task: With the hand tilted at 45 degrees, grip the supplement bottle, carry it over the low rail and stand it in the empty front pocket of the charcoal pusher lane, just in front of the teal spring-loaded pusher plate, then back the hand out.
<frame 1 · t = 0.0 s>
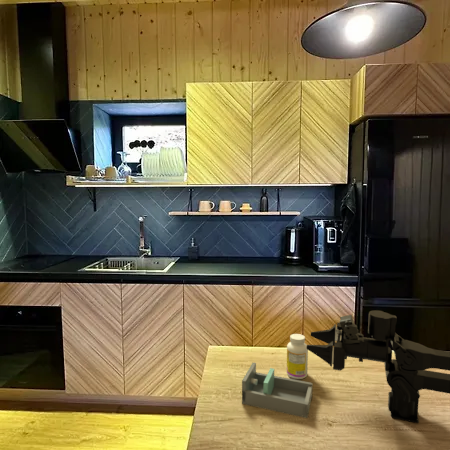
hand: (308, 340, 102), 17 cm above the table, tool horizontal, fingers open, 9 cm apart
pusher lane: (288, 401, 100), on the table
pusher plate: (269, 384, 101), point 4 cm above the table, slide at 0.0 cm
supplement bottle: (296, 375, 114), on the table
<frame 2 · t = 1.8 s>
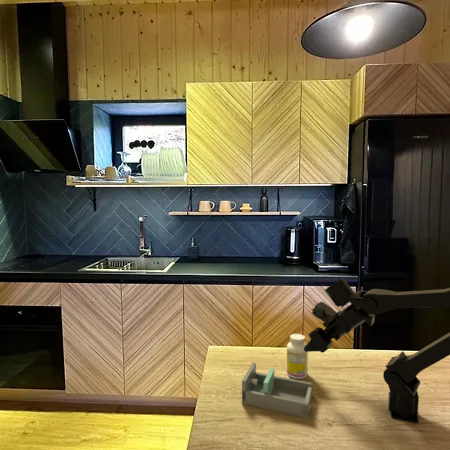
hand: (311, 344, 110), 11 cm above the table, tool tilted 45°, fingers open, 9 cm apart
nothing on the table moved.
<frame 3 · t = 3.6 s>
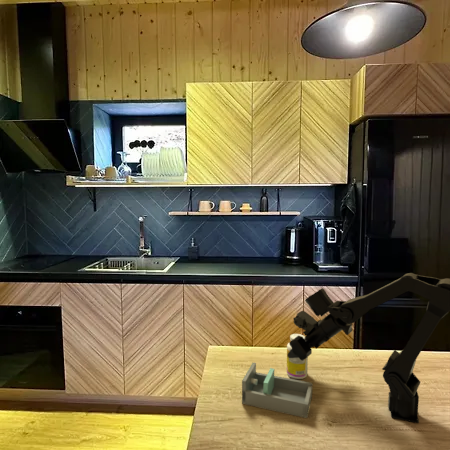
hand: (293, 352, 114), 7 cm above the table, tool tilted 45°, fingers closed on supplement bottle, 7 cm apart
supplement bottle: (296, 375, 114), on the table, touching gripper
everything else where it was.
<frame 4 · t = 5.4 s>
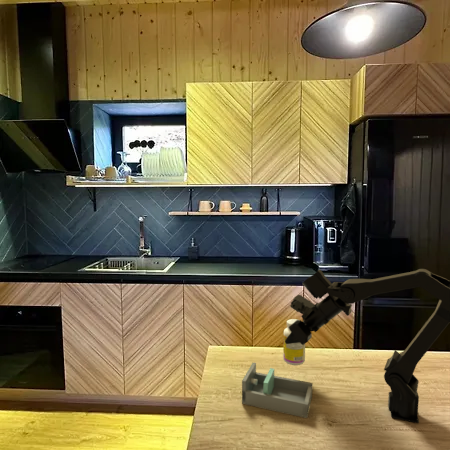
hand: (290, 338, 111), 13 cm above the table, tool tilted 45°, fingers closed on supplement bottle, 7 cm apart
supplement bottle: (294, 361, 111), point 6 cm above the table, touching gripper
everything else where it was.
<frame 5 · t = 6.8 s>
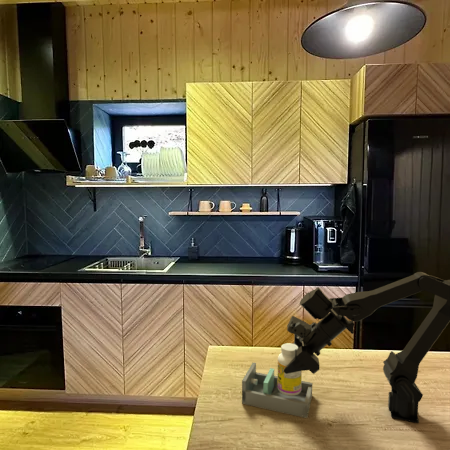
hand: (284, 365, 99), 11 cm above the table, tool tilted 45°, fingers closed on supplement bottle, 7 cm apart
supplement bottle: (289, 390, 100), point 3 cm above the table, touching gripper
everything else where it was.
when the fingers open (9 cm above the table, at t = 7.6 s): supplement bottle stays where it is, resting on pusher lane.
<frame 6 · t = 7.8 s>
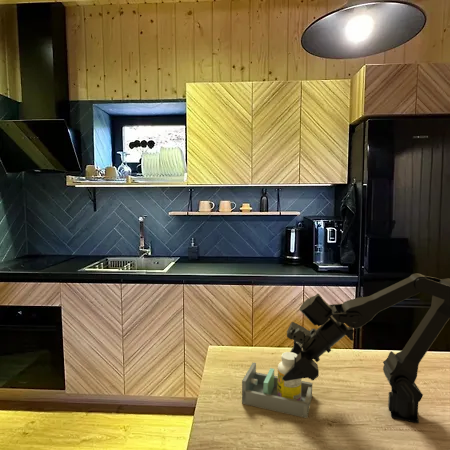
hand: (283, 371, 99), 9 cm above the table, tool tilted 45°, fingers open, 8 cm apart
supplement bottle: (288, 399, 100), point 1 cm above the table, touching pusher lane
everything else where it was.
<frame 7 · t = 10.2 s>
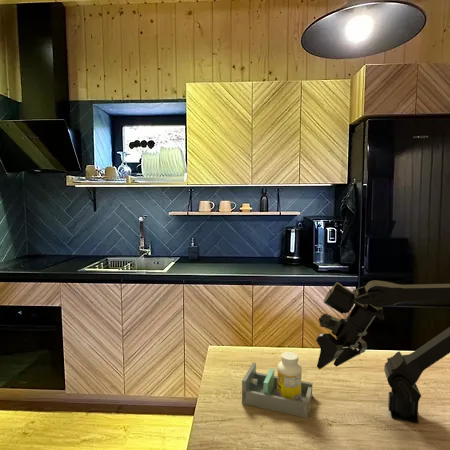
hand: (326, 366, 99), 10 cm above the table, tool tilted 30°, fingers open, 9 cm apart
nothing on the table moved.
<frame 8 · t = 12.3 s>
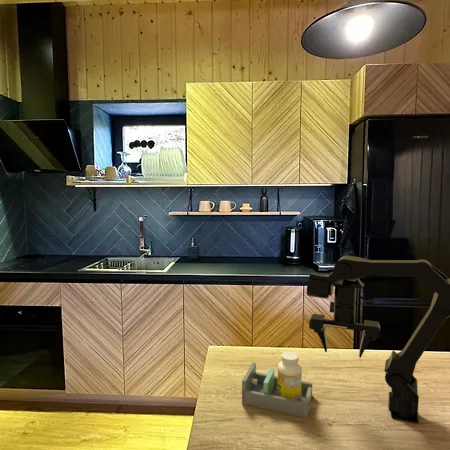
hand: (342, 354, 101), 13 cm above the table, tool pointing down, fingers open, 9 cm apart
nothing on the table moved.
at the end: supplement bottle 0.2 cm off-centre on the pusher lane, point 0.6 cm above the pusher lane's base; supplement bottle tilted 0°; the gripper is holding nothing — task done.
